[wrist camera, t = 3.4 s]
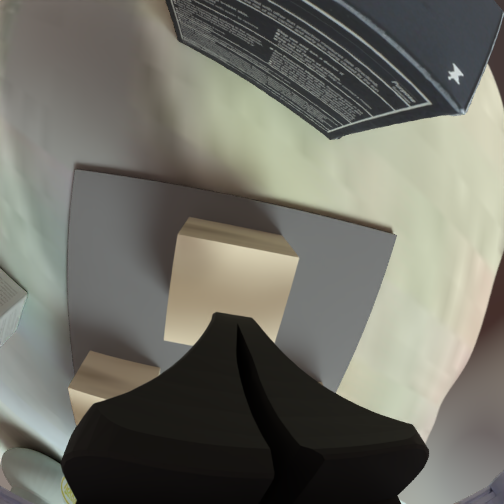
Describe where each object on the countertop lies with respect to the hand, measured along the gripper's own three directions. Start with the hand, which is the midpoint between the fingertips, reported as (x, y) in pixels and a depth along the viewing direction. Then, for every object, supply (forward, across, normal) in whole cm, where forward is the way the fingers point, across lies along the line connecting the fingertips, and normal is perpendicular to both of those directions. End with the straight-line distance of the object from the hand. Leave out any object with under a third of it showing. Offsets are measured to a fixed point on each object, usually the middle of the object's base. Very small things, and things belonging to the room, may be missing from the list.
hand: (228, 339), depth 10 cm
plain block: (+7, 0, 0) cm, 7 cm away
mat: (+7, 0, +5) cm, 9 cm away
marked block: (+7, +6, +10) cm, 13 cm away
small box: (+8, 0, -13) cm, 15 cm away
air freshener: (+8, +16, +29) cm, 34 cm away
